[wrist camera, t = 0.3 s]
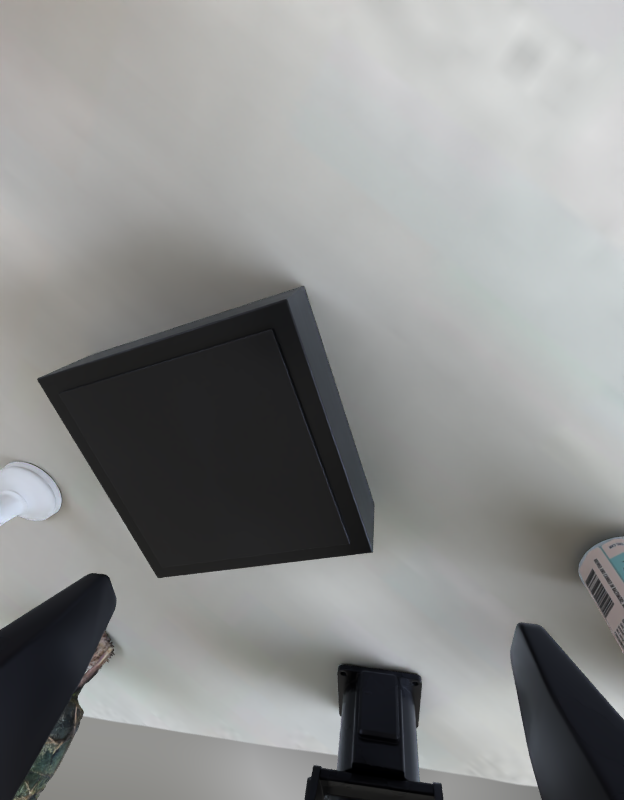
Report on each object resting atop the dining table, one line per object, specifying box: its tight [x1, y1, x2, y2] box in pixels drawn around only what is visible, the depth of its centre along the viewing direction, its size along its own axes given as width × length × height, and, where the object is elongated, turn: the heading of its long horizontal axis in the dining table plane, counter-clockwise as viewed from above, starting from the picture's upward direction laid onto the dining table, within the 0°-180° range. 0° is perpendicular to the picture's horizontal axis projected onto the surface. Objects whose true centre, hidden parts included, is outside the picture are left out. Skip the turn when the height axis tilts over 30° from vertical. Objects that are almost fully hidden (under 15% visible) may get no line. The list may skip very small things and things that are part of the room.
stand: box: [37, 286, 374, 578], centre depth 22 cm, size 14×14×4 cm
